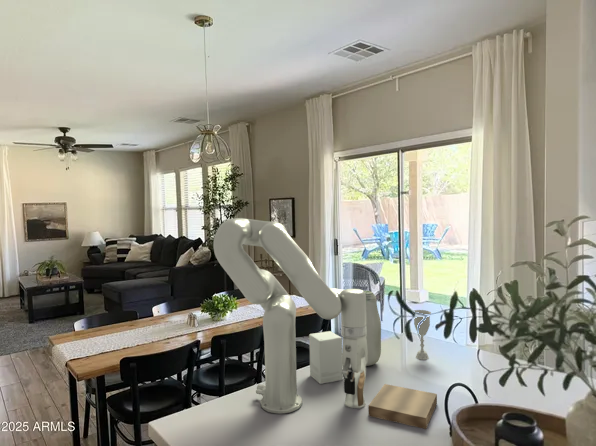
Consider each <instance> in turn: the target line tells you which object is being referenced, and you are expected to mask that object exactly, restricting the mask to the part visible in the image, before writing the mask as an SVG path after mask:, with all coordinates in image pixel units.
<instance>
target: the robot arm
mask: <svg viewBox="0 0 596 446" xmlns="http://www.w3.org/2000/svg"><path fill="white" fill-rule="evenodd" d="M243 245H246V246H254V247H261V248H262V249H263V250H264V251H265V252H266V253H267V254H268V255H269V256H270V258H271V259H272V260H273V261H274V262H275V264H277V266H278V267H279V268H280V270H282V272H283V273H284V274H285V275H286V276H287V277H288V279H289V281H290V283H291V284H292V285H293V286H294V288H296V290H297V291H298V292H299V294H300V295H301V296H302V297H303V299H304V300H305V301H306V303H307V304H308V305H309V306H310V307H311V309H312V310H313V311H314V312H315V313H316V314H317V315H318V316H319V317H320V318H322V319H325V320H328V321H330V320H333V319H336V318H337V317H338V316H339V315H340V322H341V323H340V324H341V325H340V326H341V327H340V331H341V338H342V337H343V338H342V373H343V385H344V387H343V388H344V389H343V392H344V393H345V394H346V393H347V394H351V395H354V394H355V381H354V375H355V372H356V373H358V372H360V371H361V358H362V357H364V355H365V361H366V364H367V363H368V353H367V340H366V336H367V334H366V294H365V292H364V291H365V290H363V289H360V288H347V289H340V288H333V287H329V286H328V285H327V284H326V282H325V281H324V280H323V279H322V277H321V276H320V274H319V273H318V272H317V270H316V269H315V267H314V265H313V263H312V261H311V259H310V258H309V256H308V255H307V254H306V253H305V252H304V250H303V249H302V248H300V246H299V245H298V243H296V241H295V240H294V239H293V238H292V236H290V234H289V233H288V230H287V228H286V227H285V226H284V224H282V223H280V222H277V221H266V220H259V219H250V218H245V217H236V218H229V219H227V220H225V221H223V222H222V223H221V224H220V225H219V227H218V229H217V230H216V232H215V234H214V238H213V252H214V255H215V258H216V259H217V262H218V263H219V264H220V266H221V268H222V269H223V270H224V271H225V272H226V274H227V275H228V276H229V278H230V279H231V280H232V282H233V284H234V285H235V286H236V287H237V289H239V291H240V292H241V293H242V295H243V296H244V298H245V299H246V300H247V301H248V302H249V303H251V304H252V305H259V306H260V307H261V308H262V309H263V310H264V312H263V318H262V331H263V341H264V342H263V343H264V345H263V346H264V372H265V373H264V377H265V379H264V380H265V382H264V383H265V385H264V384H260V383H259V384H257V386H256V390H255V393H256V394H257V395H260V396H262V398H261V400H260V406H261V408H262V410H264V411H266V412H268V413H270V414H271V413H272V414H280V415H281V414H288V413H292V412H295V411H297V410H299V409H300V408H301V407H302V404H303V399H302V397H301V395H299V394H298V393H297V392H298V391H297V390H298V389H297V387H298V386H297V384H298V383H297V379H298V378H297V348H296V347H297V346H296V344H297V343H296V342H297V341H296V338H297V337H296V317H297V306H296V303H295V300H294V299H293V298H292V296H290V294H289V293H288V291H287V290H286V289H285V288H284V287H283V285H282V284H281V283H280V282H279V280H278V279H277V278H276V276H274V274H273V273H271V272H270V271H269V270H267V269H261V268H260V267H259V266H258V265H257V264H256V263H255V262H254V260H253V258H252V257H251V256H250V255H249V254H248V253H247V252H246V251H245V249H244V246H243ZM350 364H351V367H352V370H349V367H350ZM348 372H351V373H352V375H351V376H350V374H348Z"/></svg>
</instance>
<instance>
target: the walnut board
mask: <svg viewBox="0 0 596 446" xmlns="http://www.w3.org/2000/svg"><path fill="white" fill-rule="evenodd" d="M436 404H437V405H438V394H437V393H434V392H428V391H424V390H419V389H418V390H417V389H413V388H408V387H402V386H397V385H392V384H387V383H385V384H384V385H382V387H381V389H379V391H378V392H377V393H376V394H375V396H374V397H373V399H372V400H371V401H370V403H369V404H368V406H367V407H368V416H369V417H372V418H377V419H380V420H385V421H389V422H394V423H398V424H402V425H406V426H410V427H411V426H412V427H414V428H420V429H424V430H427V428H428V426H429V423H430V421H431V418H432V416H433V414H434V411H435V410H436V406H437V405H436Z"/></svg>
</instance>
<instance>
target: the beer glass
mask: <svg viewBox="0 0 596 446" xmlns="http://www.w3.org/2000/svg"><path fill="white" fill-rule="evenodd" d="M349 370H352V367H351V364H350V367H349ZM348 374H350V376H351V375H352V373H351V372H348ZM366 376H367V366H366V361H365V355H364V357H362V358H361V371H360V372H358V373H356V372H355V375H354V381H355V394H354V395H351V394H347V393H345V399H344V405H345V406H346V407H348V408H350V409H362V408H364V407H365V405H366V399H365V396H364V393H365V385H366Z"/></svg>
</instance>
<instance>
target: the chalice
mask: <svg viewBox="0 0 596 446" xmlns="http://www.w3.org/2000/svg"><path fill="white" fill-rule="evenodd" d="M413 311H415V312H419V313H423V314H430V316H429V317H427V318H426V320H425V321H423V323H422V324H421V325H420V328H419V334H420V335H421V336H420V335H419V334H418V335H419V336H420V340H419V342H420V344H419V347H420V350H418V351H417V353H416V355H415V358H416V359H417V360H420V361H426V360H429V359H430V357H429V354H428V352H427V351H426V350H424V347H425V344H424V343H425V340H424V336H426V335H427V333H428V331H429V329H430V325H431V323H430V322H431V321H430V320H431V319H430V318H431V314H432V312H431V311H429V310H424V309H416V310H413ZM422 319H423V317H417V318H415V319H414V318H413V324H414V328H415V330H416V331H417V325H418V323H419V322H420V321H421V320H422Z"/></svg>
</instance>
